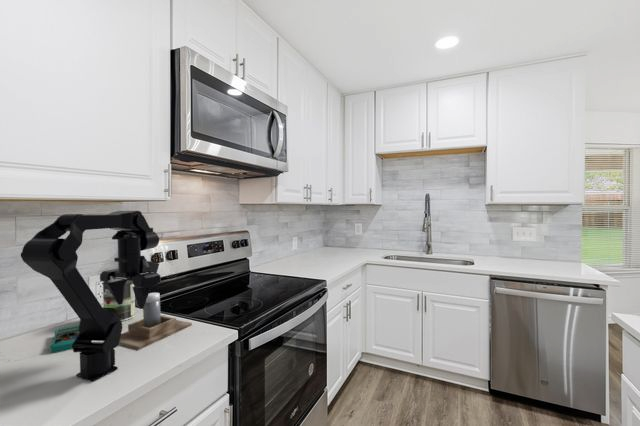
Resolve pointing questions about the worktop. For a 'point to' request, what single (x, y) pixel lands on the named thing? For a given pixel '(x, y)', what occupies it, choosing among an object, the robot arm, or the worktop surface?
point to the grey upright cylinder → (152, 310)
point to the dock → (150, 332)
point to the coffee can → (128, 305)
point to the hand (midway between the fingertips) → (130, 306)
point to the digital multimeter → (64, 338)
